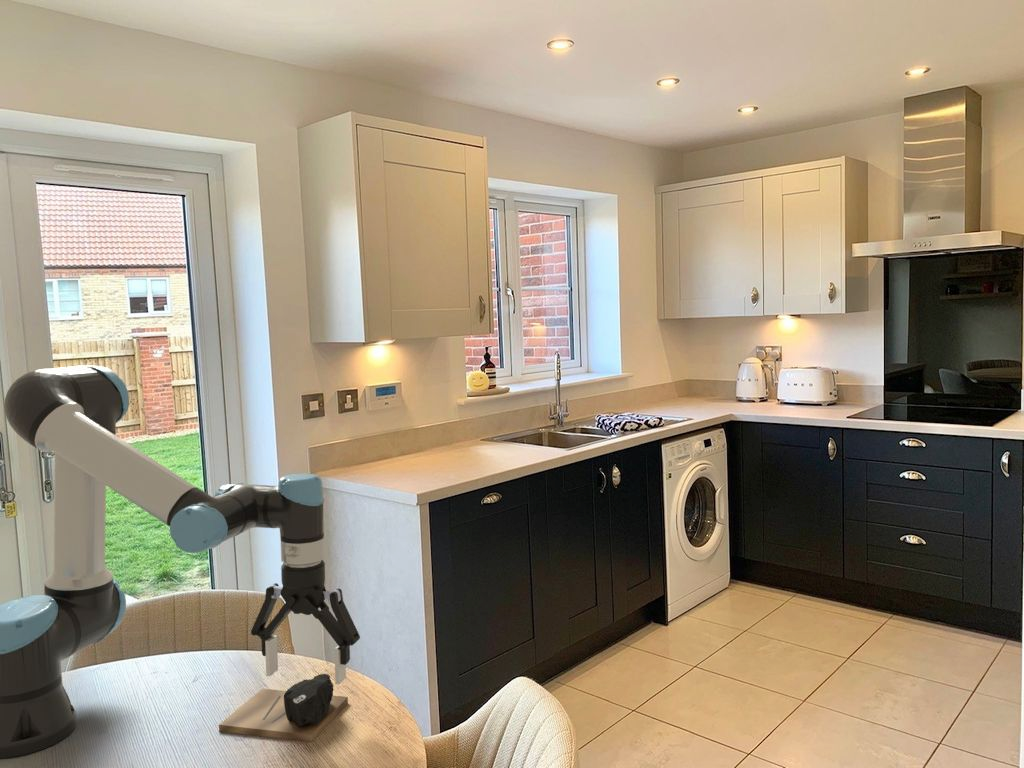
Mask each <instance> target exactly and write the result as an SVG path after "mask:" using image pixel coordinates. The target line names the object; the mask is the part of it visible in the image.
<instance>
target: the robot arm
mask: <svg viewBox="0 0 1024 768" xmlns="http://www.w3.org/2000/svg"><path fill="white" fill-rule="evenodd" d="M3 403H4V405H3V409H4V413H5V414H4V415H5V418H6V419H7V422H8V423H9V426H10V427H11V428H12V429H13V431H14V432H15V433H16V434H17V435H18V436H19V437H20V438H21V439H22V440H24V441H25V442H26V443H28V444H29V445H30V446H32V447H34V448H35V449H37V450H39V452H42V453H52V452H54V495H53V496H54V498H53V499H54V505H53V506H54V507H53V510H54V511H53V513H54V517H53V518H54V519H53V520H54V521H53V524H54V525H53V539H54V540H53V572H51V573H50V574H49V575H48V576H47V577H46V578H45V580H44V591H43V592H44V594H33V595H27V596H22V597H20V598H18V599H12V600H9V601H7V602H5V603H3V604H0V759H4V758H5V759H9V758H15V757H20V756H21V757H22V756H26V755H28V754H29V755H30V754H32V753H35V752H39V751H41V750H43V749H46V748H49V747H51V746H53V745H55V744H57V743H59V742H61V741H62V740H64V739H65V738H67V737H68V736H69V735H70V734H71V733H72V732H73V731H74V730H75V728H76V727H77V714H76V713H77V712H76V709H75V707H74V706H73V704H72V702H71V700H70V698H69V695H68V692H67V691H66V688H65V687H64V685H63V684H64V683H63V677H62V676H63V674H62V662H63V661H64V660H66V659H68V658H69V657H71V656H74V655H75V654H77V653H79V652H80V651H83V649H86V648H88V647H89V646H91V645H93V644H97V643H99V642H100V641H102V640H104V639H105V638H106V637H108V635H110V634H111V633H113V632H114V631H115V630H116V629H117V628H118V627H119V626H120V625H121V623H122V621H123V619H124V616H125V615H126V610H127V609H126V608H127V602H126V601H127V600H126V595H125V592H124V590H123V589H121V588H120V587H121V585H120V583H118V581H116V580H115V579H114V578H115V577H114V573H113V572H112V571H111V570H109V569H108V568H107V567H106V518H107V517H106V512H107V511H106V509H107V508H106V507H107V506H106V504H107V500H106V499H107V487H108V488H109V489H111V490H113V491H114V492H115V493H117V494H119V495H120V496H122V497H123V498H124V499H126V500H128V501H129V502H131V503H133V504H134V505H135V506H137V507H138V508H141V509H142V510H143V511H144V512H147V513H148V514H149V515H151V516H153V517H154V518H156V519H157V520H159V521H160V522H162V523H163V524H165V525H167V526H168V527H169V535H170V537H171V539H172V540H173V542H174V543H175V546H176V547H177V548H178V549H179V550H181V551H183V552H185V553H188V554H198V553H201V552H204V551H207V550H211V549H214V548H216V547H218V546H219V545H221V544H223V543H224V542H227V541H228V540H230V539H232V538H234V537H236V536H238V535H240V534H242V533H245V532H247V531H248V530H250V529H254V528H255V529H256V528H264V529H266V528H267V529H279V536H280V538H279V539H280V561H281V562H282V564H281V566H280V568H281V569H280V570H281V572H280V574H281V577H280V578H281V585H282V586H280V585H279V583H276V582H275V583H272V585H269V586H268V587H266V589H265V596H264V597H265V598H264V602H263V603H262V605H261V607H260V610H259V612H258V614H257V617H256V618H255V622H254V624H252V625H253V626H252V628H251V630H250V634H251V635H252V636H257V637H259V638H260V640H261V654H262V656H263V657H265V675H266V677H271V676H273V675H274V673H276V672H278V670H279V665H278V664H279V661H278V660H279V659H278V658H279V657H278V656H279V654H278V635H275V631H276V630H277V629H278V627H279V626H280V625H281V624H282V622H284V620H285V619H286V618H287V617H288V615H289V614H290V613H291V612H293V614H294V615H299V614H303V615H305V616H310V615H312V616H313V617H314V618H315V619H316V620H318V621H319V622H320V624H321V625H322V626H323V627H324V629H325V630H326V631H327V633H328V634H329V635H330V637H331V638H332V639H333V640H334V642H335V644H337V646H336V647H334V677H335V679H334V680H335V682H334V683H335V685H340V684H342V683H343V682H344V681H345V679H346V678H347V670H346V669H347V664H348V663H349V662H350V660H351V649H350V648H351V646H352V647H353V646H354V645H355V644H356V643H357V642H358V641H359V640H360V638H361V636H360V633H359V631H358V629H357V628H356V625H355V623H354V621H353V619H352V617H351V614H350V612H349V610H348V608H347V606H346V604H345V602H344V599H343V598H344V597H343V590H342V589H341V588H336V589H335V590H326V589H327V588H326V586H325V583H326V568H325V567H326V563H325V561H324V559H325V557H326V555H325V553H326V552H325V535H324V533H325V532H324V503H325V498H324V490H323V482H322V478H320V476H318V475H316V474H312V473H291V474H286V475H283V476H282V477H280V479H278V485H265V484H263V485H262V484H248V483H235V484H234V483H233V484H232V483H229V484H224V485H222V486H220V487H219V488H218V491H217V492H215V494H214V495H213V496H211V495H210V494H208V493H207V492H205V491H204V490H201V488H198V487H197V486H195V485H193V484H192V483H191V482H189V481H188V480H186V479H185V478H183V477H181V476H179V475H178V474H177V473H175V472H174V471H172V470H171V469H169V468H167V467H166V466H164V465H162V464H161V463H159V462H158V461H156V460H155V459H153V458H152V457H150V456H149V455H147V454H145V453H144V452H143V451H141V450H139V449H137V448H136V447H134V446H133V445H131V443H129V442H127V441H125V440H124V439H122V438H120V437H119V436H117V435H116V433H117V432H116V431H117V429H116V426H117V423H119V422H120V421H121V420H122V419H123V417H124V416H126V415H127V412H129V411H128V410H129V406H130V394H129V391H128V388H127V385H126V383H125V382H124V381H123V379H122V378H120V377H119V375H118V374H117V373H116V372H114V370H112V369H110V368H108V367H105V366H99V365H85V364H84V365H75V366H67V367H66V366H64V367H55V368H41V369H39V368H38V369H35V370H32V371H28V372H27V373H25V374H22V375H21V376H19V377H18V378H17V379H16V380H15V381H13V382H12V384H11V385H10V386H9V388H8V390H7V392H6V394H5V397H4V402H3ZM280 596H281V598H282V600H283V602H284V604H283V605H282V607H281V608H280V609H279V611H278V613H276V615H275V616H274V617H273V619H271V621H270V622H269V623H268V621H269V618H270V616H271V614H272V611H273V610H274V607H275V605H276V603H277V601H278V598H280ZM325 600H327V603H326V601H325ZM328 604H330V607H331V610H332V612H333V613H332V612H331V610H330V607H329V605H328ZM333 614H334V615H333ZM267 623H268V625H267ZM273 634H274V635H273Z"/></svg>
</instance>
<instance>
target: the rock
mask: <svg viewBox="0 0 1024 768" xmlns="http://www.w3.org/2000/svg"><path fill="white" fill-rule="evenodd" d="M285 691H286V692H285V694H284V706H285V712H286V716H287V719H288V721H290V722H295V724H296V725H297V726H303V725H305V724H307V723H308V724H309V723H312V724H318V723H319V722H320V720H321V719H322V718H324V717H325V716H326V715H327V713H328V710H329V705H330V702H331V700H332V696H333V695H334V684H333V682H332V680H331V677H330V675H329V674H328V673H321V674H317V675H315V676H313V678H311V679H303V680H302V681H299V682H296V683H295V684H293V685H292V686H290V687H289V688H288V689H287V690H285Z"/></svg>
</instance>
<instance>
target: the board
mask: <svg viewBox="0 0 1024 768" xmlns="http://www.w3.org/2000/svg"><path fill="white" fill-rule="evenodd" d="M286 691H287V690H280V689H268V688H261V689H259V691H257V692H256V693H255V694H254V695H253V696H251V697H250V698H249V699H248V700H247V701H245V702H244V703H243V704H242V705H241V706H239V707H238V708H237V709H235V711H233V712H232V713H231V714H230V715H228V717H225V719H224V720H223V721H221V722H220V723H219V724H218V732H221V733H222V732H224V733H230V734H231V733H233V734H239V735H240V734H242V735H247V736H248V735H249V736H259V737H267V738H276V739H283V740H293V741H302V742H310V743H311V742H313V741H314V740H315V739H316V738H317V737H318V736H319V735H320V734H321V733H322V732H323V730H324V729H325V728H326V727H327V726H328V725H329V724H330V723H331V722H332V721H333V720H334V718H336V716H337V715H339V713H340V712H341V711H342V710H343V709H344V708H345V707H346V706H347V705H348V704H349V697H348V696H345V695H344V696H342V695H334V694H333V696H332V700H331V702H330V705H329V710H328V713H327V715H326V716H325V717H324V718H322V719H321V720H320V722H319V723H318V724H312V723H309V724H308V723H307V724H305V725H303V726H297V725H296V724H295V722H290V721H288V719H287V716H286V712H285V706H284V694H285V692H286Z"/></svg>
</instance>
